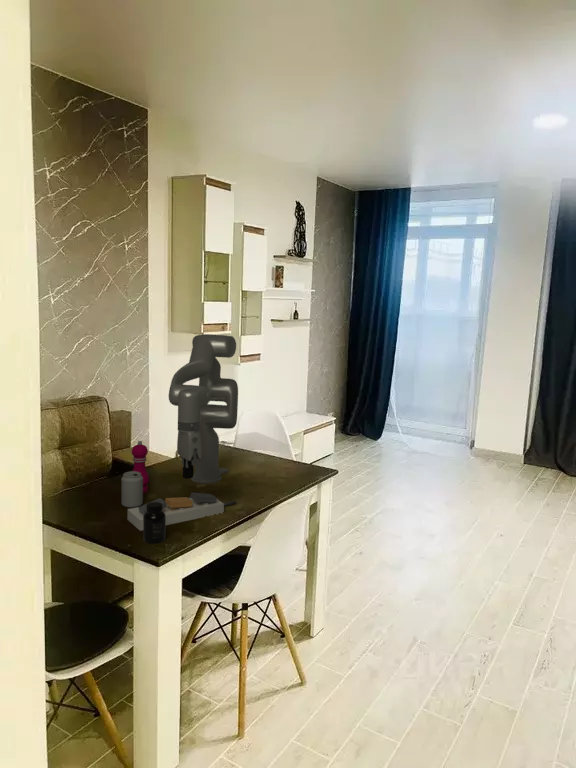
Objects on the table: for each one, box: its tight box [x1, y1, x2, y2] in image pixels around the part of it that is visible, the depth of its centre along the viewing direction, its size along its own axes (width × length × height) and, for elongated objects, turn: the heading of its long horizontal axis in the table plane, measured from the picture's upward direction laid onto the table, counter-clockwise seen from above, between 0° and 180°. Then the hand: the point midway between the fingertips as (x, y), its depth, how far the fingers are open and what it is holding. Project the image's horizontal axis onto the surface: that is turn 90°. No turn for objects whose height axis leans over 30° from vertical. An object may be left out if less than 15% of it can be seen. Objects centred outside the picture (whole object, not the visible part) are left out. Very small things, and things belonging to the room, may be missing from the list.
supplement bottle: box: [142, 501, 167, 545], centre depth 187 cm, size 7×7×12 cm
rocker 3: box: [189, 492, 218, 503], centre depth 211 cm, size 8×5×2 cm, turn 126°
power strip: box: [126, 497, 237, 532], centre depth 210 cm, size 39×11×5 cm, turn 126°
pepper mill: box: [131, 440, 150, 494], centre depth 230 cm, size 7×7×20 cm
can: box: [120, 470, 144, 509], centre depth 216 cm, size 8×8×12 cm
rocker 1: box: [138, 497, 167, 515], centre depth 200 cm, size 8×5×2 cm, turn 126°
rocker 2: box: [164, 496, 193, 508], centre depth 206 cm, size 8×5×2 cm, turn 126°
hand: (187, 477), depth 206 cm, fingers closed
